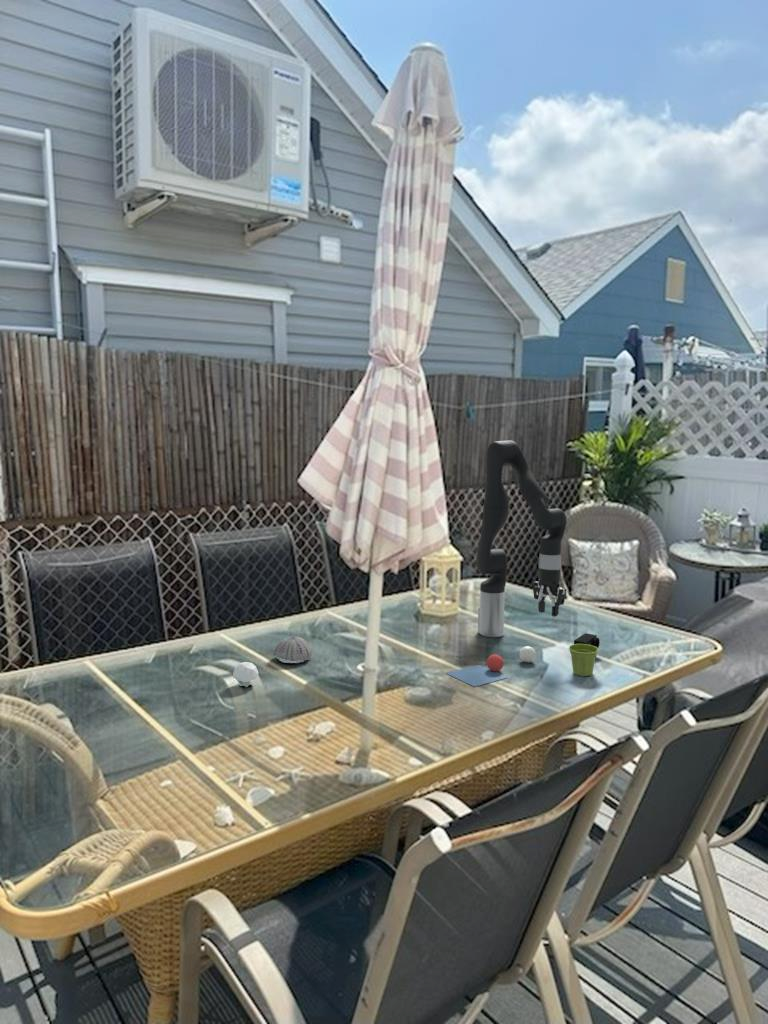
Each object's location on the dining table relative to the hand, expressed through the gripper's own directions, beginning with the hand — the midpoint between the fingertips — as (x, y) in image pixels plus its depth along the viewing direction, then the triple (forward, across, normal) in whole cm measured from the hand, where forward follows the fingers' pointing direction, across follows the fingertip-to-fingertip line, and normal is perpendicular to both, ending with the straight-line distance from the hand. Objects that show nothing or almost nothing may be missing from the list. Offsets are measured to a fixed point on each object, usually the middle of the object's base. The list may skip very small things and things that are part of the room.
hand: (548, 613), depth 249 cm
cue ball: (+13, 0, -10) cm, 16 cm away
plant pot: (+16, +18, -2) cm, 24 cm away
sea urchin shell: (+16, -48, -75) cm, 90 cm away
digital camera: (+16, +8, +11) cm, 21 cm away
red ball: (+13, 0, -24) cm, 28 cm away
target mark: (+15, 0, -32) cm, 36 cm away
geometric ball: (+16, -34, -98) cm, 105 cm away
